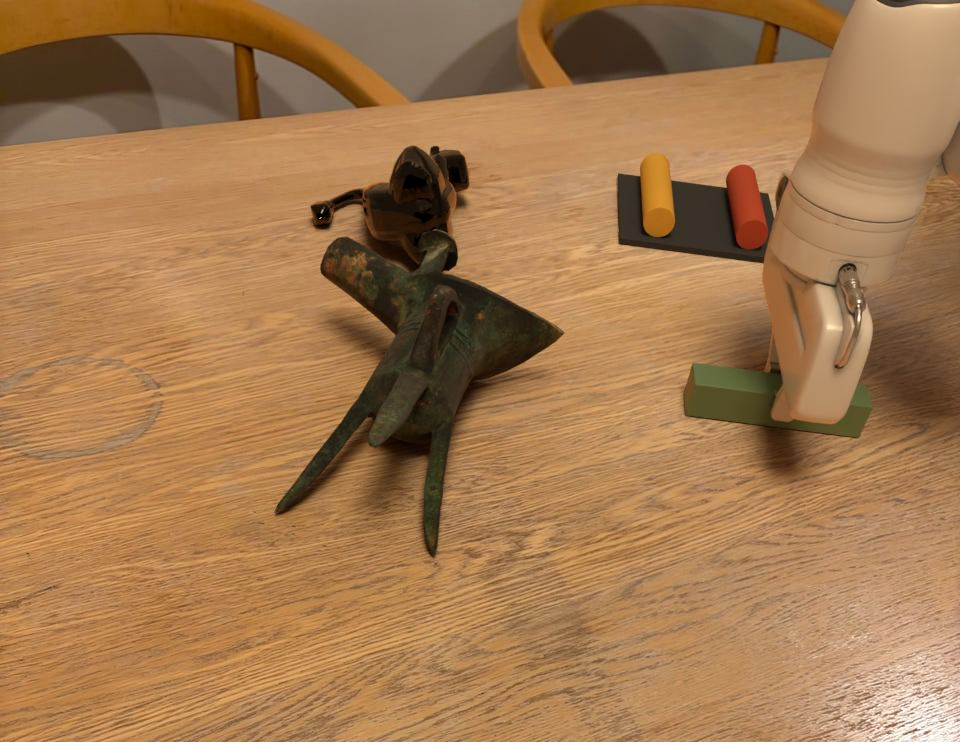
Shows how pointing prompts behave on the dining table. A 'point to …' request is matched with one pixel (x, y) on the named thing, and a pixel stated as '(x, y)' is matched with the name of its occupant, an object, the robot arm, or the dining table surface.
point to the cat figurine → (408, 197)
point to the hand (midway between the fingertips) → (776, 398)
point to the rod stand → (694, 212)
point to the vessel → (424, 353)
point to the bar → (759, 400)
